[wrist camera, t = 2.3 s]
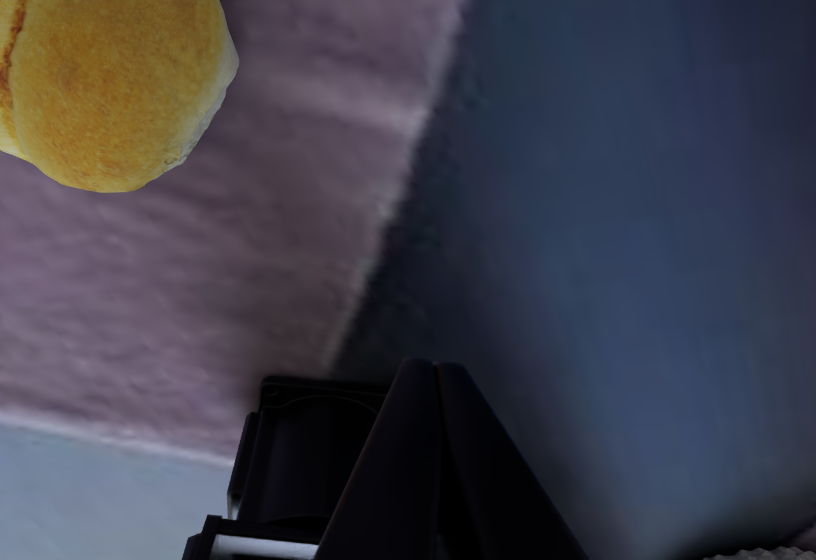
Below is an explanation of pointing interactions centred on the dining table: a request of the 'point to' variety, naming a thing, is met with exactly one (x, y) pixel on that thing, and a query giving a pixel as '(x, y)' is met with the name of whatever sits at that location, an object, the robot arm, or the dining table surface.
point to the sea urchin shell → (769, 555)
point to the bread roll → (110, 86)
